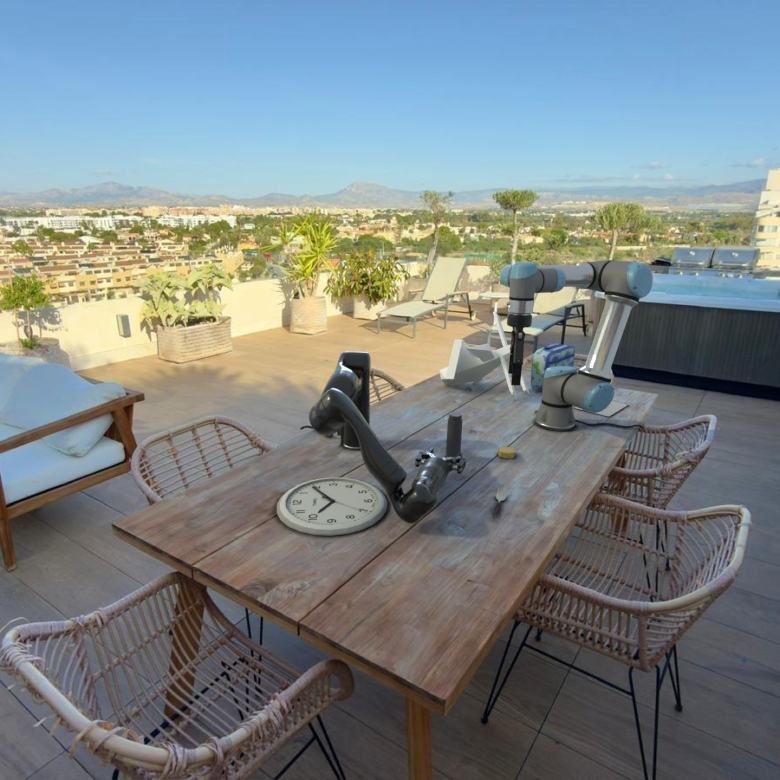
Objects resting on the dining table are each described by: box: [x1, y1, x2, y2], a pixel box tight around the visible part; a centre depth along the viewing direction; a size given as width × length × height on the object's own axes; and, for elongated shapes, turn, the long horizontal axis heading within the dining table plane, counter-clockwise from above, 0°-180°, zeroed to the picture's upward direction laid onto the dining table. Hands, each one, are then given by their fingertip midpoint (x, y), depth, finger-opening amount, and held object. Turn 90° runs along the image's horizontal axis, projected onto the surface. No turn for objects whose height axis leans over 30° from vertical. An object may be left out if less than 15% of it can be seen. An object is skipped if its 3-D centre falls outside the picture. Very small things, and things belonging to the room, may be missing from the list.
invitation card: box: [573, 400, 629, 418], centre depth 226 cm, size 21×1×15 cm
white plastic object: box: [438, 310, 531, 400], centre depth 245 cm, size 37×45×31 cm
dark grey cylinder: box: [445, 411, 463, 463], centre depth 170 cm, size 5×5×16 cm
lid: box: [497, 446, 516, 459], centre depth 176 cm, size 5×5×2 cm
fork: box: [492, 486, 508, 519], centre depth 143 cm, size 3×16×2 cm, turn 160°
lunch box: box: [530, 343, 576, 391], centre depth 249 cm, size 26×11×21 cm, turn 134°
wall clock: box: [276, 476, 388, 537], centre depth 142 cm, size 30×2×30 cm
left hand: (445, 452), depth 160 cm, fingers open, 8 cm apart
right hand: (514, 379), depth 169 cm, fingers open, 13 cm apart
